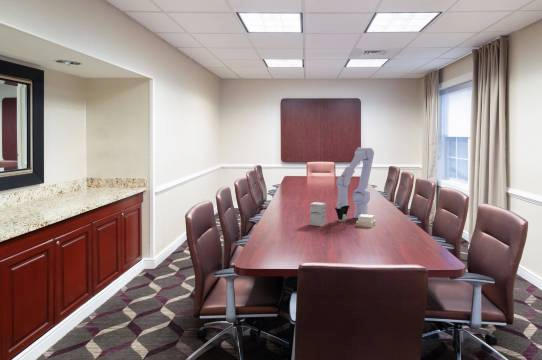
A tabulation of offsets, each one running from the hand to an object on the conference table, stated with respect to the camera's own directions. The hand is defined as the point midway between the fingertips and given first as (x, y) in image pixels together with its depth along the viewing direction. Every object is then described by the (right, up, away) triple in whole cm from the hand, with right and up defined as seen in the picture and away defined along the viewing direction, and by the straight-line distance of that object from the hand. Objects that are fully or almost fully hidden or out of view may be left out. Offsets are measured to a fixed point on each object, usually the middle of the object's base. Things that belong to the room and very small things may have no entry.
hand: (342, 218), depth 236 cm
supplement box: (-16, -3, -10) cm, 19 cm away
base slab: (+12, -3, -12) cm, 17 cm away
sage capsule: (0, -2, 0) cm, 2 cm away
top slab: (+12, 0, -12) cm, 17 cm away
